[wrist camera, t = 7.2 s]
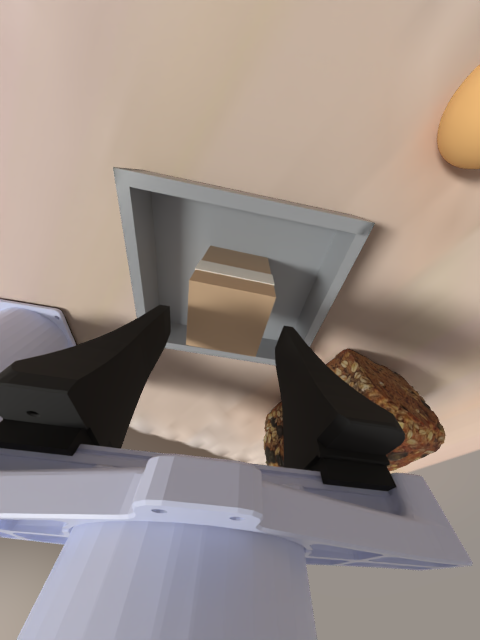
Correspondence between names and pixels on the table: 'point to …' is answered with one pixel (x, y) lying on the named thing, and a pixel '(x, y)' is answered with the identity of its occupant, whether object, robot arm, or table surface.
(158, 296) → the bin
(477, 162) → the egg
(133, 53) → the table surface
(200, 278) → the carton
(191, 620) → the robot arm
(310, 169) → the table surface
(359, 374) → the bread
